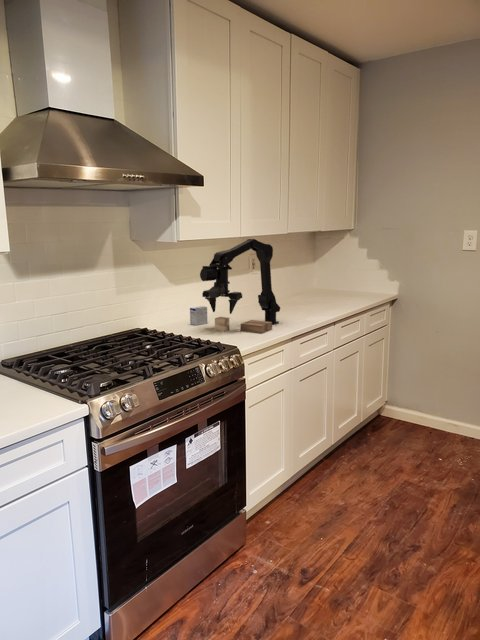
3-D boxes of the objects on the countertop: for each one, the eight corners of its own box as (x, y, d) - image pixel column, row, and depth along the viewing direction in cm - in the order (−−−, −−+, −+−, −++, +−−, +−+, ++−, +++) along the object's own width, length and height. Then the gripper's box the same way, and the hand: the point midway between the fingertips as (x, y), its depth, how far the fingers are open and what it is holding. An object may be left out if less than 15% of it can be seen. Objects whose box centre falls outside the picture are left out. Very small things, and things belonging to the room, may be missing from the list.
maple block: (220, 329, 244) (220, 316, 243) (229, 330, 242) (229, 317, 241) (214, 330, 240) (214, 318, 239) (223, 332, 238) (223, 319, 236)
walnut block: (251, 327, 248) (251, 319, 248) (272, 330, 243) (272, 322, 242) (240, 332, 239) (240, 323, 238) (261, 334, 234) (261, 326, 233)
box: (201, 322, 260) (201, 305, 258) (207, 323, 257) (207, 306, 255) (189, 324, 254) (189, 307, 253) (195, 325, 251) (195, 308, 250)
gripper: (195, 280, 234) (196, 313, 237) (230, 282, 225) (230, 317, 228) (208, 277, 244) (209, 310, 247) (242, 280, 234) (242, 313, 237)
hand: (222, 312), depth 239 cm, fingers open, 9 cm apart
